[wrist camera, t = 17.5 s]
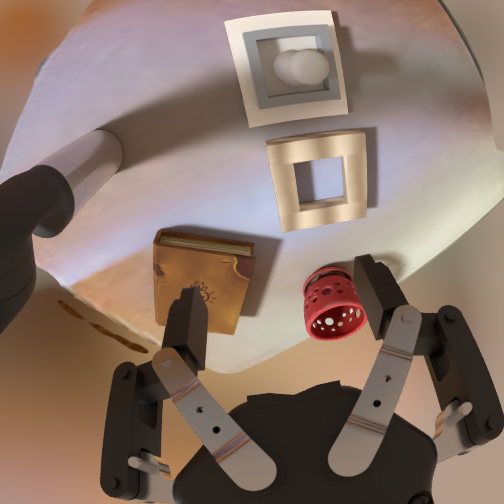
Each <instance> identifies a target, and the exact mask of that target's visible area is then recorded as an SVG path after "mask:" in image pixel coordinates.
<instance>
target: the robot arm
mask: <svg viewBox="0 0 504 504" xmlns="http://www.w3.org/2000/svg"><path fill="white" fill-rule="evenodd" d="M122 159H123V150H122V146H121V144H120V142H119V140H118V139H117V137H116V136H115V135H113V134H112V133H111V132H109V131H106V130H94V131H92V132H90V133H88V134H86V135H84V136H82V137H80V138H79V139H77V140H75V141H73V142H72V143H70V144H68V145H66V146H65V147H63V148H61V149H60V150H58V151H57V152H55V153H53V154H52V155H50V156H49V157H47V158H46V159H44V160H43V161H41V162H40V163H38V164H37V165H35V166H34V167H33V168H31V169H30V170H28V171H26V172H23V173H20V174H18V175H15V176H13V177H11V178H10V179H8V180H6V181H5V182H4V183H2V184H1V185H0V334H1V333H2V332H3V330H4V329H5V328H6V327H7V326H8V325H9V324H10V322H11V321H12V320H13V319H14V318H15V317H16V316H17V314H18V313H19V312H20V311H21V309H22V308H23V307H24V306H25V304H26V303H27V301H28V300H29V298H30V297H31V295H32V293H33V290H34V287H35V283H36V264H35V258H34V251H33V243H32V233H33V234H34V235H36V236H39V237H42V238H51V237H54V236H56V235H58V234H59V233H61V232H62V231H63V230H64V228H65V227H66V226H67V225H68V224H69V222H70V221H71V220H72V219H73V218H74V217H75V215H76V214H77V213H78V212H79V211H80V210H81V208H82V207H83V206H84V205H85V204H86V203H87V202H88V201H89V200H90V198H91V197H92V196H93V195H94V194H95V193H96V192H97V191H98V190H99V189H100V188H101V187H102V186H103V185H104V184H105V183H106V182H107V181H108V180H109V179H110V178H111V177H112V176H113V175H114V174H115V173H116V172H117V171H118V169H119V168H120V166H121V163H122ZM354 286H355V290H356V292H357V295H358V297H359V299H360V302H361V304H362V307H363V309H364V311H365V314H366V316H367V319H368V321H369V324H370V327H371V329H372V331H373V334H374V337H375V339H376V340H380V339H383V341H384V342H383V344H382V347H381V348H380V351H379V353H378V356H377V358H376V361H375V363H374V366H373V368H372V370H371V372H370V375H369V377H368V379H367V382H366V384H365V386H364V388H363V390H360V389H358V388H354V387H351V386H341V384H340V380H338V381H333V382H329V383H324V384H320V385H316V386H314V387H312V388H309V389H307V390H305V391H302V392H300V393H298V394H295V395H287V394H274V393H266V394H258V395H250V396H247V402H245V403H242V404H240V405H238V406H237V407H235V408H234V409H233V410H231V411H230V412H229V413H227V412H226V411H225V410H224V409H223V408H222V407H221V406H220V405H219V403H218V402H217V401H216V400H215V399H214V397H213V396H212V395H211V394H210V393H209V392H208V390H207V389H206V388H205V387H204V386H203V384H202V383H201V382H200V381H199V379H198V378H197V373H198V371H201V370H205V358H206V343H207V330H208V309H207V306H206V303H205V301H204V299H203V297H202V295H201V293H200V291H199V289H198V287H197V286H193V287H187V288H183V289H182V291H181V296H180V299H176V300H174V302H173V303H172V305H171V306H170V308H169V313H168V318H167V322H166V323H167V324H166V327H165V332H164V338H163V343H162V348H161V349H160V350H159V351H157V353H155V355H154V356H153V358H152V360H151V361H149V362H147V363H144V364H141V365H139V366H136V365H135V364H133V363H131V362H124V363H122V364H120V365H119V366H118V367H117V368H116V369H115V371H114V374H113V379H112V385H111V391H110V396H109V402H108V408H107V415H106V422H105V430H104V439H103V448H102V459H101V474H100V475H101V476H100V484H101V487H102V489H103V491H104V492H105V493H106V494H107V495H108V496H110V497H114V498H119V499H122V500H126V501H131V502H137V503H155V502H160V503H171V504H434V501H433V498H432V492H431V488H432V479H433V475H434V471H435V468H436V464H437V463H439V462H442V461H444V460H446V459H448V458H450V457H453V456H455V455H464V454H466V453H468V452H470V451H472V450H474V449H476V448H478V447H480V446H482V445H484V444H486V443H488V442H489V441H491V440H493V439H495V438H496V437H498V436H499V435H500V434H501V432H502V430H503V427H504V414H503V411H502V408H501V404H500V401H499V398H498V395H497V393H496V390H495V387H494V384H493V381H492V379H491V376H490V374H489V371H488V369H487V366H486V364H485V361H484V359H483V357H482V354H481V353H480V350H479V348H478V345H477V343H476V341H475V339H474V337H473V335H472V333H471V331H470V329H469V327H468V325H467V323H466V321H465V319H464V317H463V315H462V313H461V312H460V310H459V309H457V308H456V307H454V306H451V305H446V306H443V307H441V308H440V309H439V311H438V313H421V312H420V311H419V310H418V309H417V308H415V307H414V306H410V305H409V303H408V302H407V300H406V298H405V296H404V294H403V292H402V291H401V289H400V287H399V285H398V284H397V283H396V280H395V278H394V277H393V275H392V273H391V271H390V270H389V268H388V267H387V266H385V265H384V264H383V263H382V262H378V263H375V262H374V260H373V258H372V256H371V255H370V254H366V255H361V256H357V257H355V263H354ZM412 355H424V358H425V361H426V363H427V366H428V369H429V372H430V375H431V378H432V381H433V384H434V387H435V391H436V393H437V397H438V401H439V404H440V408H441V411H442V412H440V414H439V415H438V416H437V418H436V421H435V435H434V437H433V439H431V437H429V436H428V435H427V434H425V433H424V432H423V431H421V430H420V429H418V428H417V427H415V426H414V425H412V424H410V423H409V422H407V421H406V420H405V419H403V418H402V417H400V416H399V415H397V414H396V413H394V410H395V408H396V405H397V403H398V400H399V398H400V395H401V392H402V390H403V387H404V384H405V381H406V378H407V375H408V372H409V369H410V366H411V363H412V359H413V356H412ZM170 397H171V400H172V402H173V403H174V405H175V406H176V408H177V409H178V411H179V412H180V413H181V415H182V416H183V417H184V419H185V420H186V422H187V423H188V425H189V426H190V427H191V429H192V430H193V431H194V433H195V434H196V435H197V436H198V437H199V439H200V440H201V442H202V443H203V445H202V447H201V448H200V449H199V450H198V452H197V453H196V454H195V455H194V457H192V459H191V460H190V461H189V462H188V463H187V465H186V466H185V467H184V468H183V469H182V470H181V472H180V473H179V474H178V475H177V477H176V478H175V479H174V478H173V477H172V476H171V473H170V468H169V465H168V463H167V462H166V461H165V460H164V459H162V458H161V430H162V407H163V400H165V399H168V398H170Z"/></svg>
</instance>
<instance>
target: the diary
mask: <svg viewBox="0 0 504 504" xmlns="http://www.w3.org/2000/svg"><path fill="white" fill-rule="evenodd" d="M253 247H254V243H247V242H241V241H234V240H227V239H221V238H214V237H207V236H200V235H193V234H187V233H180V232H173V231H166V230H158V232H157V234H156V236H155V239H154V241H153V272H154V300H155V317H156V322H157V324H158V325H161V326H166V324H167V323H166V322H167V318H168V313H169V308H170V306H171V305H172V303H173V302H174V300H176V299H180V296H181V291H182V289H183V288H187V287H193V286H197V287H198V289H199V291H200V293H201V295H202V297H203V299H204V301H205V303H206V306H207V309H208V330H207V332H211V333H219V334H228V335H234V333H235V329H236V326H237V322H238V319H239V315H240V312H241V308H242V305H243V302H244V298H245V294H246V291H247V287H248V284H249V280H250V277H251V273H252V270H253V266H254V263H255V257H253V256H251V254H252V250H253Z"/></svg>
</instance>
